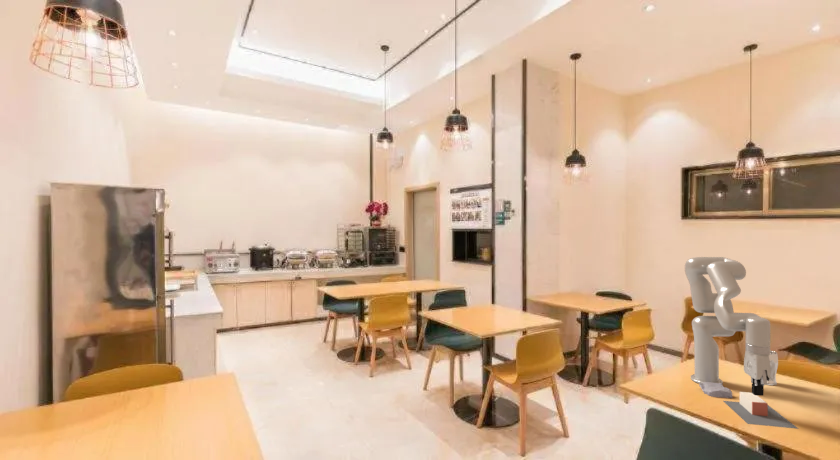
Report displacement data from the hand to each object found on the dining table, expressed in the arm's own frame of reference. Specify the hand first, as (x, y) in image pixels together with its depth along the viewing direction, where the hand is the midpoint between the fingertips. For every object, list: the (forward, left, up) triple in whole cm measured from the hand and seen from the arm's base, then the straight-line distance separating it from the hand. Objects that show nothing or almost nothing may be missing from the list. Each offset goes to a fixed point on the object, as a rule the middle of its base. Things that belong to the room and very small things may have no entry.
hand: (757, 394), depth 159 cm
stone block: (-19, -8, -9) cm, 22 cm away
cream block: (+2, 0, -5) cm, 5 cm away
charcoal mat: (0, 0, -8) cm, 8 cm away
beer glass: (-38, +22, -9) cm, 45 cm away
